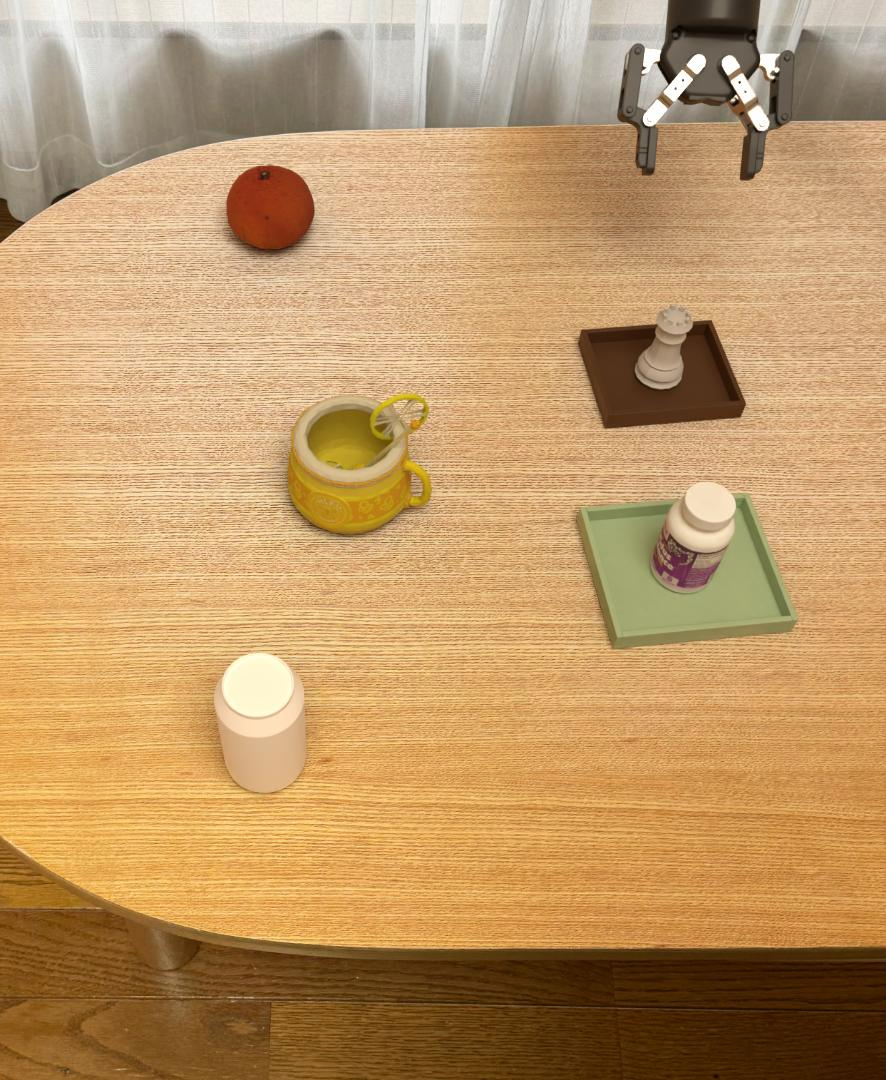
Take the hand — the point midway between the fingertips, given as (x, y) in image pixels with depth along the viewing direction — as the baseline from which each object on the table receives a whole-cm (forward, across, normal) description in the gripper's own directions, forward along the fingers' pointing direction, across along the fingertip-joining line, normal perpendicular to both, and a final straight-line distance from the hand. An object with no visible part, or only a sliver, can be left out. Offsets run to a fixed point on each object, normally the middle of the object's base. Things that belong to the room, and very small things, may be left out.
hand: (697, 177), depth 101 cm
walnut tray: (+18, 0, +8) cm, 19 cm away
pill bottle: (+33, 0, -8) cm, 34 cm away
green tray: (+33, 0, -8) cm, 34 cm away
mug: (+29, -28, -3) cm, 40 cm away
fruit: (+5, -39, +20) cm, 44 cm away
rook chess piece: (+17, 0, +8) cm, 19 cm away
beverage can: (+47, -34, -21) cm, 61 cm away
